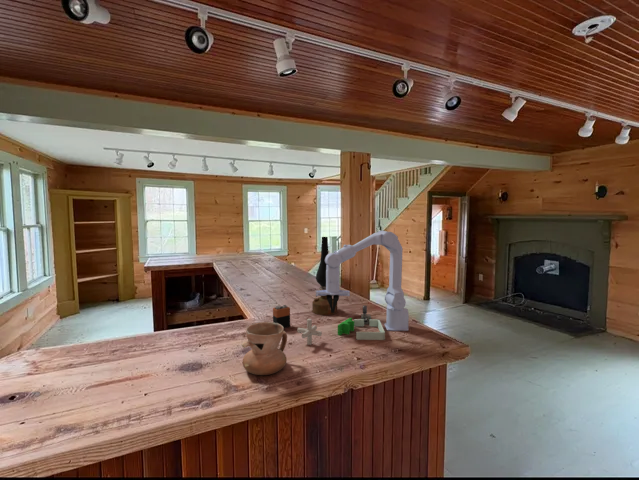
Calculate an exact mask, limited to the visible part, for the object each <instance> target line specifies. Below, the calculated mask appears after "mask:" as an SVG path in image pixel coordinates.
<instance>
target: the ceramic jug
mask: <svg viewBox="0 0 639 480" xmlns="http://www.w3.org/2000/svg"><path fill="white" fill-rule="evenodd" d="M284 329H285V328H283V326H282V325H281V324H278V323H274V322H273V321H270V322H269V321H263V322H262V321H261V322H257V323H255V322H254V323H252V324H250V325H249V326H247V327H246V328H245V334H246V338H247V341H244V342H242V343H241V347H242V348H244V349H246V348H248V347H250V348H251V349H250V350H249V351H247V352H246V353H245V355H243V358H242V367H243V368H244V370H245V371H246V372H247V373H250V374H252V375H255V376H268V375H272V374H276V373H278V372H280V371H281V370H282V369H284V368H285V366H286V364H287V360H288V359H287V356H286V354H285V352H284V350H285V347H286V345H287V342H288V334H287V332H286V331H285V330H284Z"/></svg>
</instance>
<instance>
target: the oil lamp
mask: <svg viewBox="0 0 639 480" xmlns="http://www.w3.org/2000/svg"><path fill="white" fill-rule="evenodd" d="M328 239H329V237H328V236H322V237H321V249H320V261H319V266H318V269H317V271H316V274H315V280H316V282H317V283H318V285H320V287H318V291H319V290H326V265H327V264H326V263H325V258H326V256H327V255H328V254H329V240H328ZM316 297H317V298H316ZM313 299H314V300H313V301H311V302H312V303H311V305H312V309H311V312H312V313H313V314H315V315H318V316H333V315H335V314H337V313H338V312H339V310H338V303H337V304H336V307H335V311H334V313H331V308H330V305H329V302H328V300H327V296H316V295H315V298H313ZM332 306H333V297H332Z"/></svg>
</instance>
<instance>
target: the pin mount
mask: <svg viewBox="0 0 639 480" xmlns="http://www.w3.org/2000/svg"><path fill="white" fill-rule="evenodd" d="M364 318H368V321H365V320H364V326H365V325H367V326H369V323H370V319H372V315H371V314H369V313H368V314H367V313H366V314H363V313H362V314H360V319H364Z"/></svg>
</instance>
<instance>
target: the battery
mask: <svg viewBox="0 0 639 480" xmlns="http://www.w3.org/2000/svg"><path fill="white" fill-rule="evenodd" d="M272 322H274V323H278V324H281V325H282V326H283V328H284V329H287V328H290V327H291V307H289V306H288V305H286V304H283V305H276V306H274V307H273V308H272Z"/></svg>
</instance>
